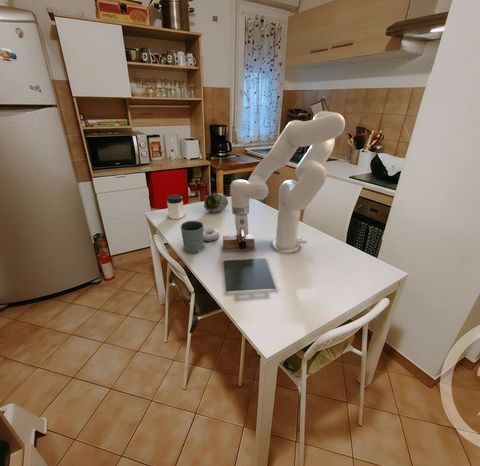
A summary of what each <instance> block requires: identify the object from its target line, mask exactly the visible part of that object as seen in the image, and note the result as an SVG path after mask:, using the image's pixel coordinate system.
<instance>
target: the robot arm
mask: <svg viewBox="0 0 480 466" xmlns="http://www.w3.org/2000/svg"><path fill="white" fill-rule="evenodd" d="M345 127H346V120H345V118H344V116H343V115H342V114H341V113H338V112H333V111H327V110H322V111H319V112H317V113H316V114H315V115H314V116H313V118H312V119H310V120H305V121H303V120H299V119H294V120H291V121H289V122H288V123H287V125H286V126H285V127H284V129H283V130H282V132H281V133H280V134H279V136H278V138H277V139H276V141H275V142H274V143H273V146H272V147H271V149H270V150H269V152H268V153H267V154H266V155H265V156H264V157H263V159H261V160H260V161H259V163H257V165H256V167H255V168H254V170H253V171H252V173H251V174H250V175H249V178H248V180H245V179H235V180H233V181H231V183H230V196H231V197H230V199H231V201H230V202H231V213H232V215H234V226H235V230H236V235H238V236H239V249H238V250H246V249H247V248H246V237H245V235H247V236H248V235H249V220H248V214H250V200H256V201H257V200H259V201H260V200H264V199H265V198H267V197H268V195H269V191H270V190H269V186H268V184H267V183H266V182H267V181H268V179H270V176H272V174H273V173H275V171H277V170H279V169H281V168H283V167H286V166H287V165H288V164H289V162H290V160H291V159H292V158H293V156H294V155H295V153H296V151H297V150H298V149H299V148H305V147H309V148H308V149H307V152H306V153H305V154H304V155H303V157H302V158H301V159H300V161H299V162H298V164H297V165H296V168H295V171H294V172H295V173H294V174H295V176H296V178H297V179H298V180H297V181H296V180H295V179H288V180H287V179H286V180H285V181H283V182H282V183H281V184H280V186H279V188H278V210H277V211H278V213H277V214H278V215H277V223H276V233H275V234H276V236H275V239H274V240H273V241H272V242H271V244H272V246H273V247H274V248H275V249H276V250H279V251H281V252H290V253H295V252H297V251H298V250H299V249H300V245H303V244H305V245H306V244H307V242H308V240H307V239H303V237H298V232H299V225H300V218H301V217H300V216H301V211H302V210H304V209H306V208H307V207H308V206H309V205H310V203H311V202H312V201H313V199H314V198H315V197H316V195H317V194H318V193H319V192H320V191H321V189H322V187H323V186H324V184H325V183H326V180H327V169H326V168H325V163H326V162H327V161H328V159H329V158H330V156H331V154H332V153H333V150H334V148H335V144H336V143H335V142H336V141H335V140H336V138H338V137H339V136H340V135H342V133H343V132H344V130H345ZM240 236H241V237H242V238H241V237H240Z"/></svg>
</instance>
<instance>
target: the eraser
mask: <svg viewBox="0 0 480 466" xmlns="http://www.w3.org/2000/svg"><path fill="white" fill-rule="evenodd" d="M240 237H241V236H240ZM245 237H246V249H255V237H254V234H248V236H247V235H245ZM241 238H242V237H241ZM222 247H223V250H240V249H239V236H238V235H237V234H236V235H223V236H222Z"/></svg>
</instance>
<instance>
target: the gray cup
mask: <svg viewBox="0 0 480 466" xmlns="http://www.w3.org/2000/svg"><path fill="white" fill-rule="evenodd" d="M203 229H204V223H203V222H202V221H199V220H187V221H185V222H183V223H181V225H180V231H181V238H182V243H183V250H184V251H185V252H186V253H188V254H196V253H198V252H199V250H200V251H201V249H203V247H204V240H203Z"/></svg>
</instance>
